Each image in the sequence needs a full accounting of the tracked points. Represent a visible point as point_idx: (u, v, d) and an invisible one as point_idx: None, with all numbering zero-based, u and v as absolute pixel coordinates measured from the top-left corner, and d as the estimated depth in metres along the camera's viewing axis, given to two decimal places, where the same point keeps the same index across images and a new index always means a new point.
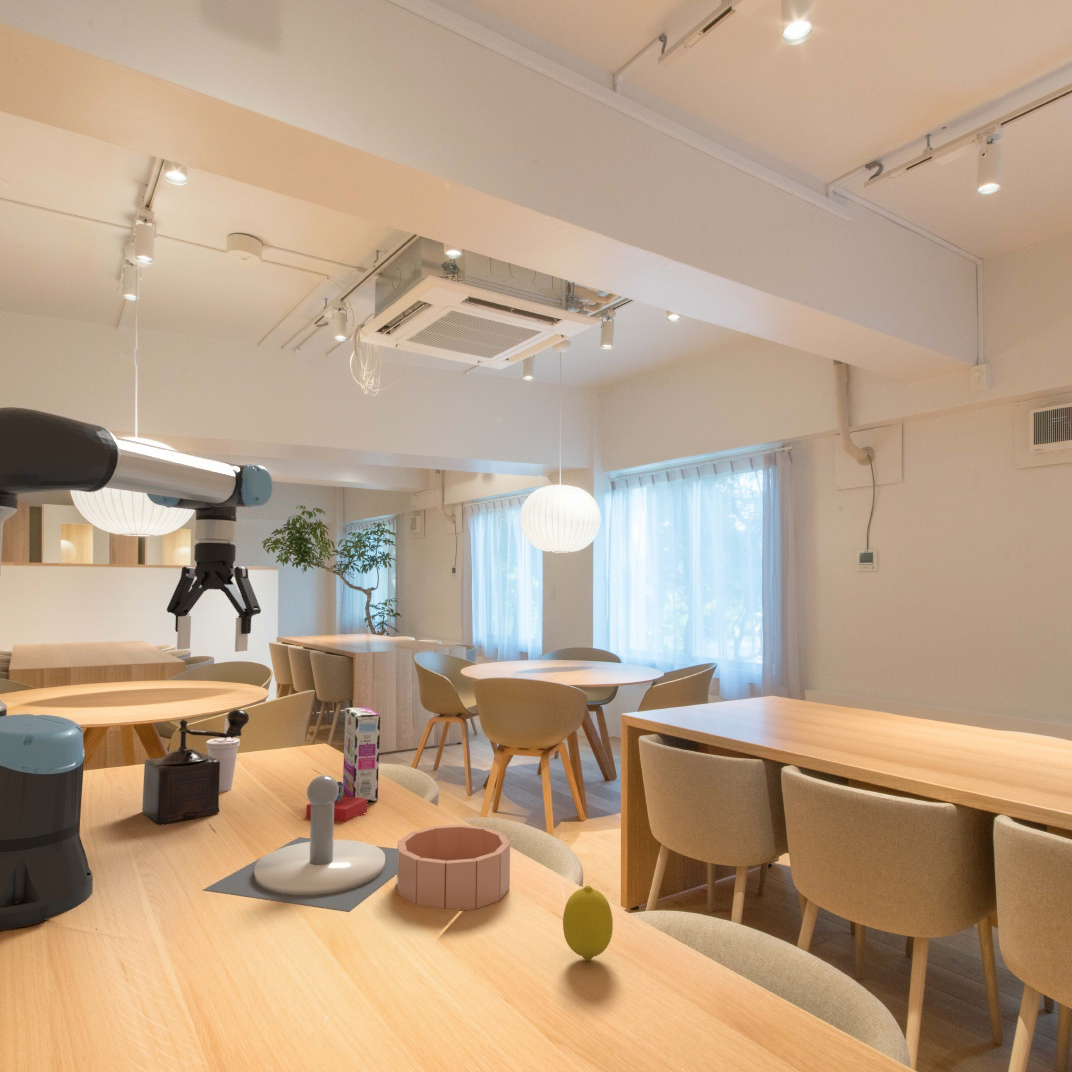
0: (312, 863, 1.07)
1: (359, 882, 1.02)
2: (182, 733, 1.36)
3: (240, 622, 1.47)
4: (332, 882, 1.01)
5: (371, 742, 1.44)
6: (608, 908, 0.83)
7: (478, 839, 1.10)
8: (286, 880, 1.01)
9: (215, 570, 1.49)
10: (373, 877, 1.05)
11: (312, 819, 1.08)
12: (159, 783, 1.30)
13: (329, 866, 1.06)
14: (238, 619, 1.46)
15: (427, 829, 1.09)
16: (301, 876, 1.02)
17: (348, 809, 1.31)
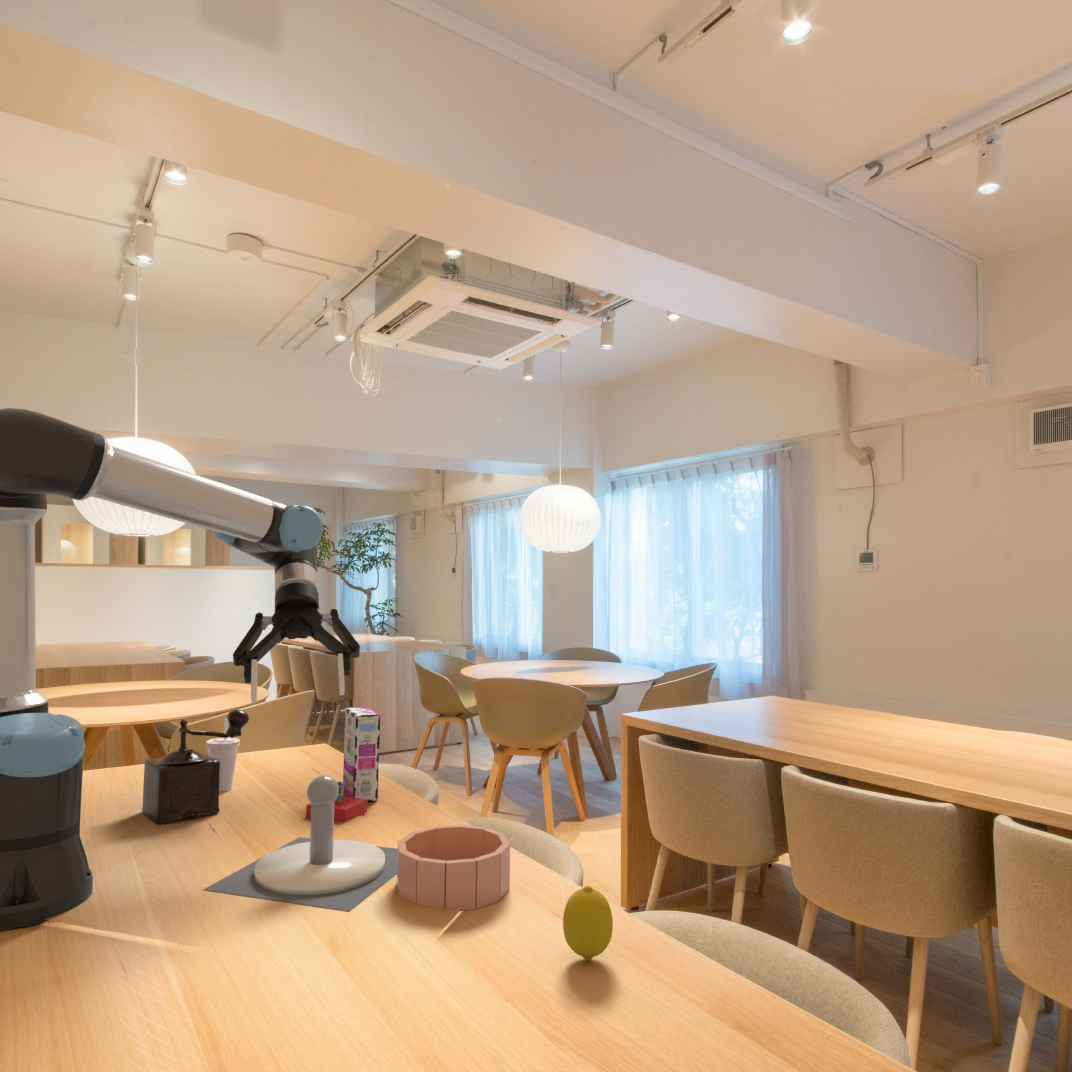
0: (312, 863, 1.07)
1: (359, 882, 1.02)
2: (182, 733, 1.36)
3: (342, 659, 1.27)
4: (332, 882, 1.01)
5: (371, 742, 1.44)
6: (608, 908, 0.83)
7: (478, 839, 1.10)
8: (286, 880, 1.01)
9: None
10: (373, 877, 1.05)
11: (312, 819, 1.08)
12: (159, 783, 1.30)
13: (329, 866, 1.06)
14: (341, 654, 1.27)
15: (427, 829, 1.09)
16: (301, 876, 1.02)
17: (348, 809, 1.31)
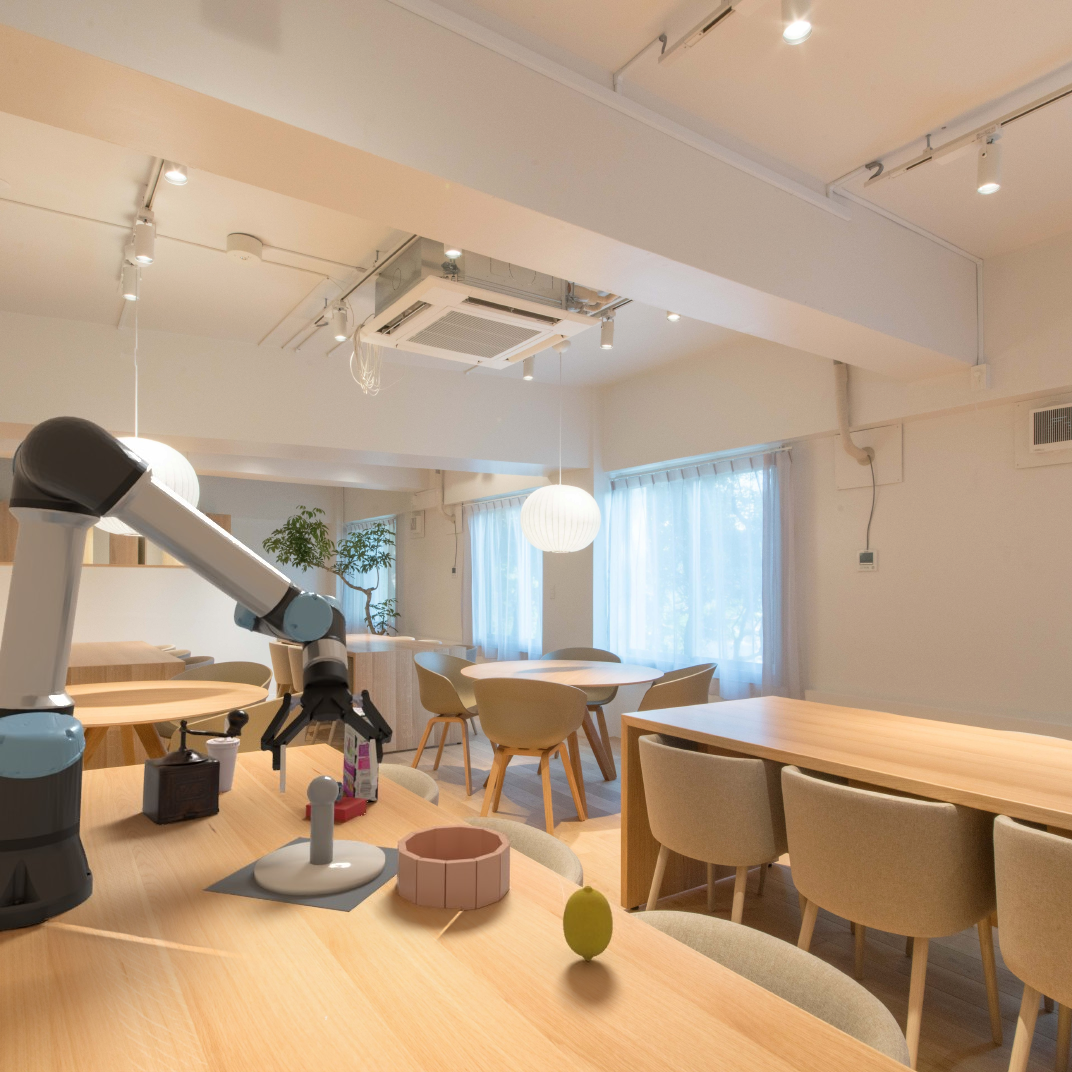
0: (312, 863, 1.07)
1: (359, 882, 1.02)
2: (182, 733, 1.36)
3: None
4: (332, 882, 1.01)
5: None
6: (608, 908, 0.83)
7: (478, 839, 1.10)
8: (286, 880, 1.01)
9: None
10: (373, 877, 1.05)
11: (312, 819, 1.08)
12: (159, 783, 1.30)
13: (329, 866, 1.06)
14: (373, 741, 1.21)
15: (427, 829, 1.09)
16: (301, 876, 1.02)
17: (347, 809, 1.31)
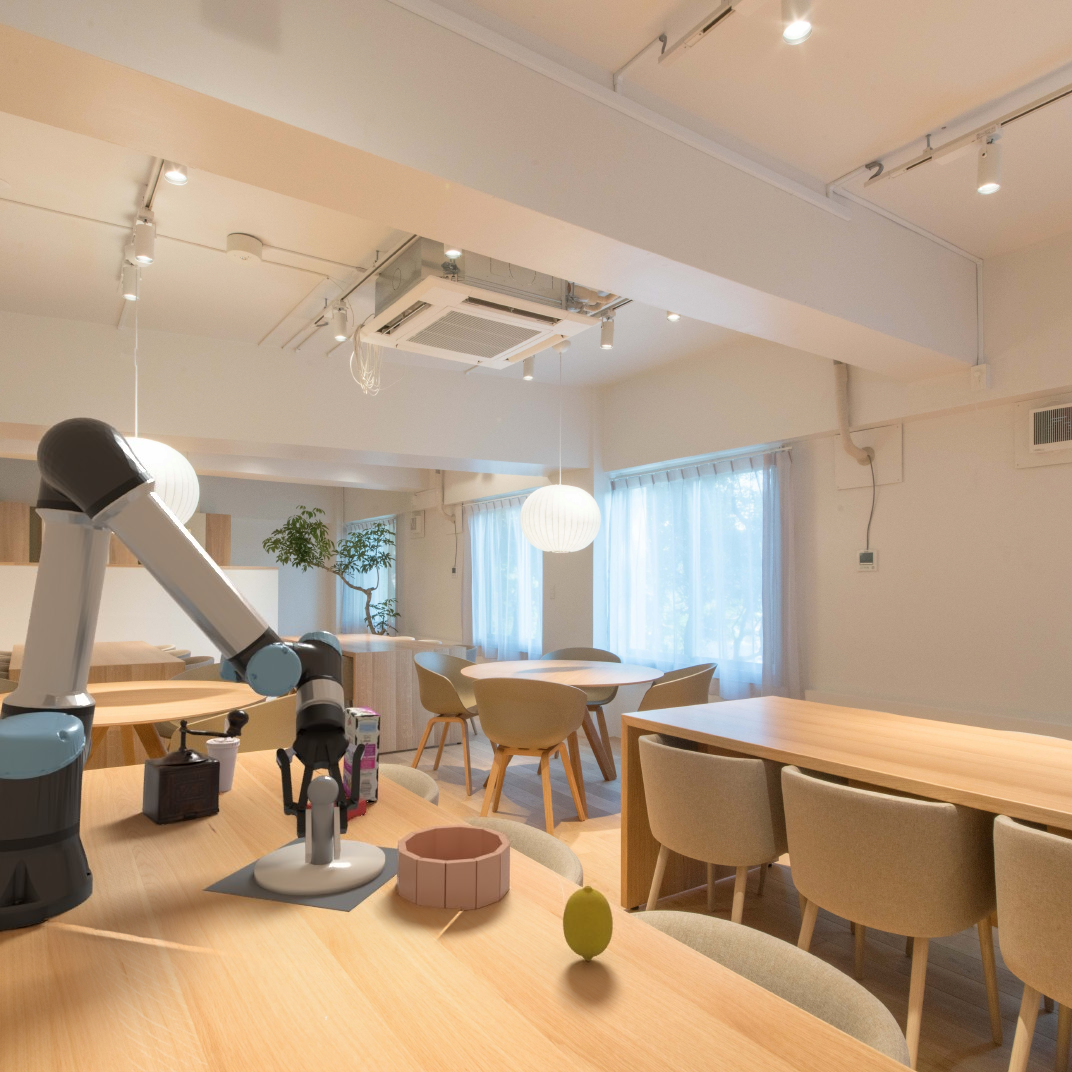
0: (312, 863, 1.07)
1: (359, 882, 1.02)
2: (182, 733, 1.36)
3: (339, 814, 1.09)
4: (332, 882, 1.01)
5: (371, 742, 1.44)
6: (608, 908, 0.83)
7: (478, 839, 1.10)
8: (286, 880, 1.01)
9: (331, 735, 1.18)
10: (373, 877, 1.05)
11: (312, 819, 1.08)
12: (159, 783, 1.30)
13: (329, 866, 1.06)
14: (337, 809, 1.09)
15: (427, 829, 1.09)
16: (301, 876, 1.02)
17: None
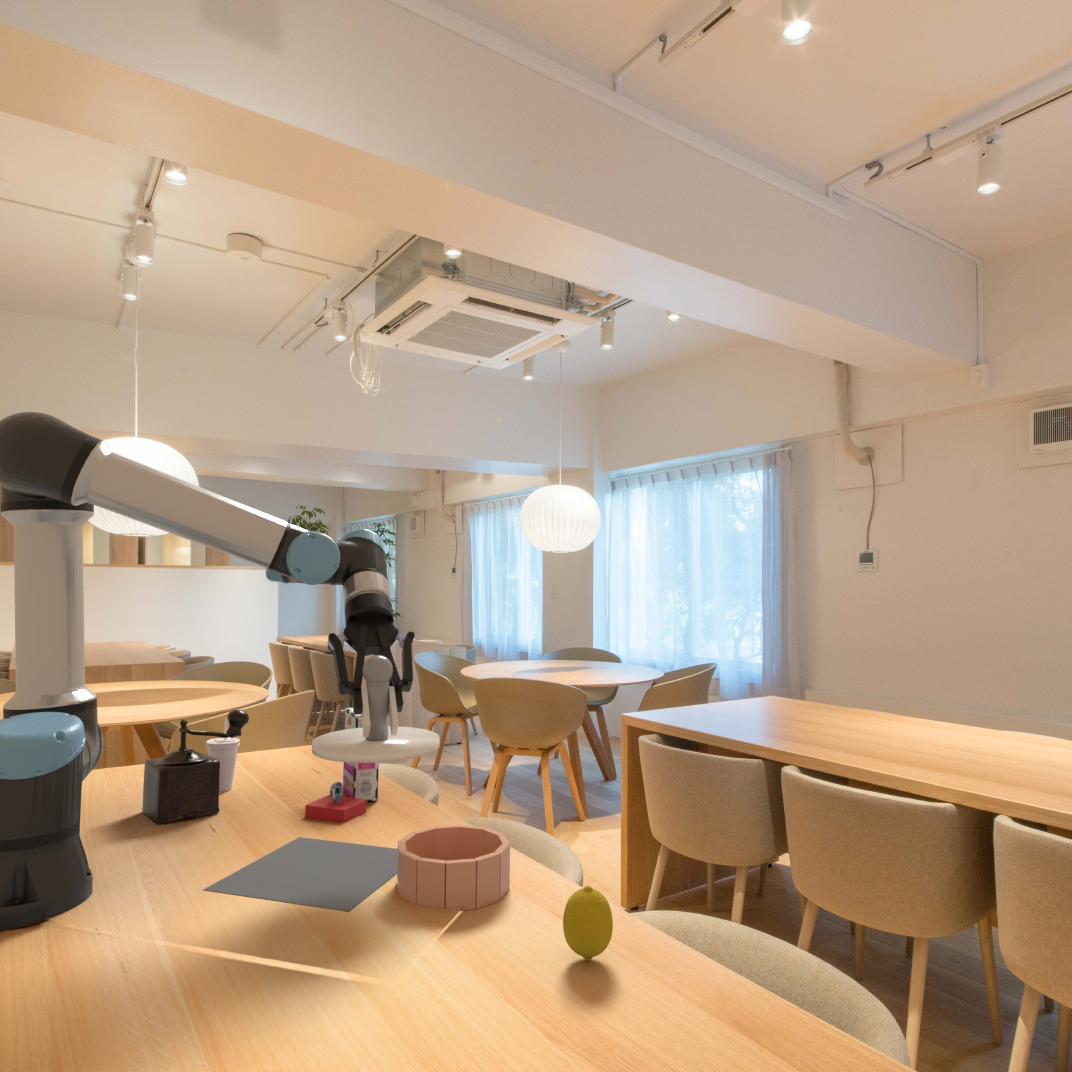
0: (368, 740, 1.08)
1: (418, 753, 1.03)
2: (182, 733, 1.36)
3: None
4: (392, 751, 1.02)
5: None
6: (608, 908, 0.83)
7: (478, 839, 1.10)
8: (346, 750, 1.02)
9: (380, 623, 1.19)
10: (431, 750, 1.06)
11: (368, 697, 1.08)
12: (159, 783, 1.30)
13: (385, 742, 1.07)
14: (392, 688, 1.10)
15: (427, 829, 1.09)
16: (361, 748, 1.03)
17: (347, 810, 1.31)
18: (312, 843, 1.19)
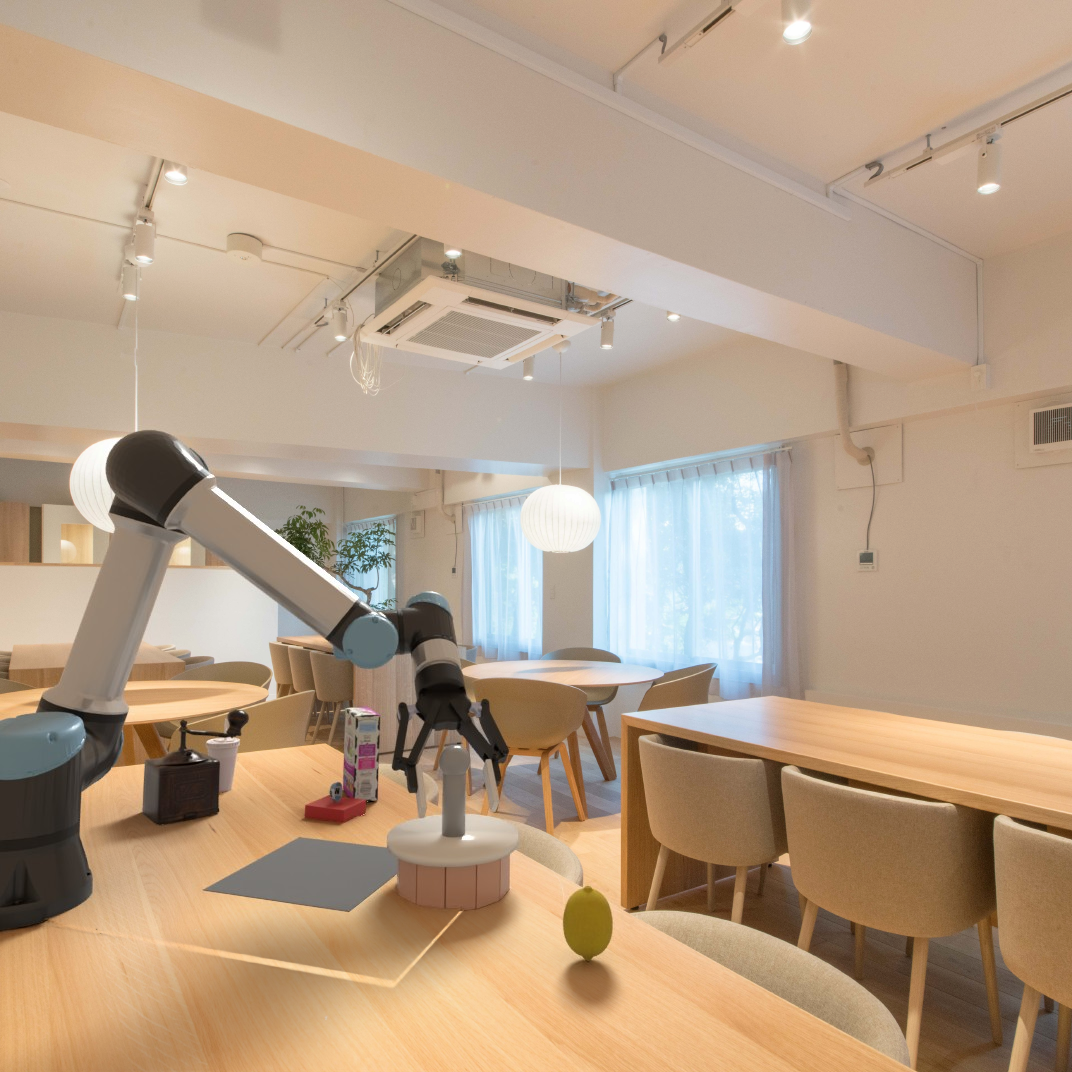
0: (446, 835, 1.03)
1: (501, 854, 0.98)
2: (182, 733, 1.36)
3: None
4: (475, 853, 0.96)
5: (371, 742, 1.44)
6: (608, 908, 0.83)
7: None
8: (426, 851, 0.97)
9: (451, 698, 1.13)
10: (512, 849, 1.00)
11: (445, 790, 1.03)
12: (159, 783, 1.30)
13: (464, 839, 1.02)
14: (490, 761, 1.06)
15: None
16: (441, 848, 0.98)
17: (346, 810, 1.30)
18: (312, 843, 1.19)
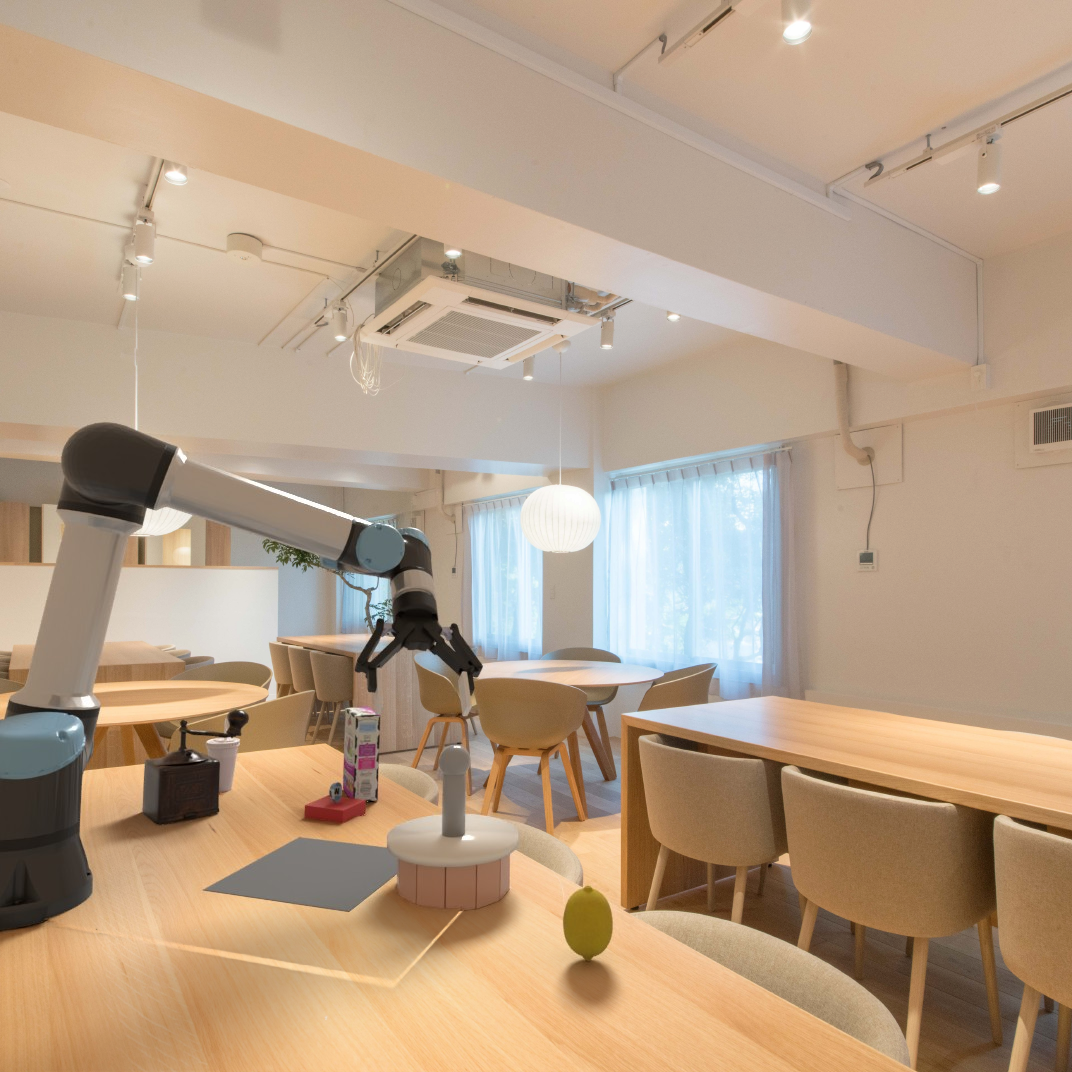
0: (446, 835, 1.03)
1: (501, 854, 0.98)
2: (182, 733, 1.36)
3: None
4: (475, 853, 0.96)
5: (371, 742, 1.44)
6: (608, 908, 0.83)
7: None
8: (426, 851, 0.97)
9: None
10: (512, 849, 1.00)
11: (445, 790, 1.03)
12: (159, 783, 1.30)
13: (464, 839, 1.02)
14: (465, 673, 1.21)
15: None
16: (441, 848, 0.98)
17: (346, 810, 1.30)
18: (312, 843, 1.19)
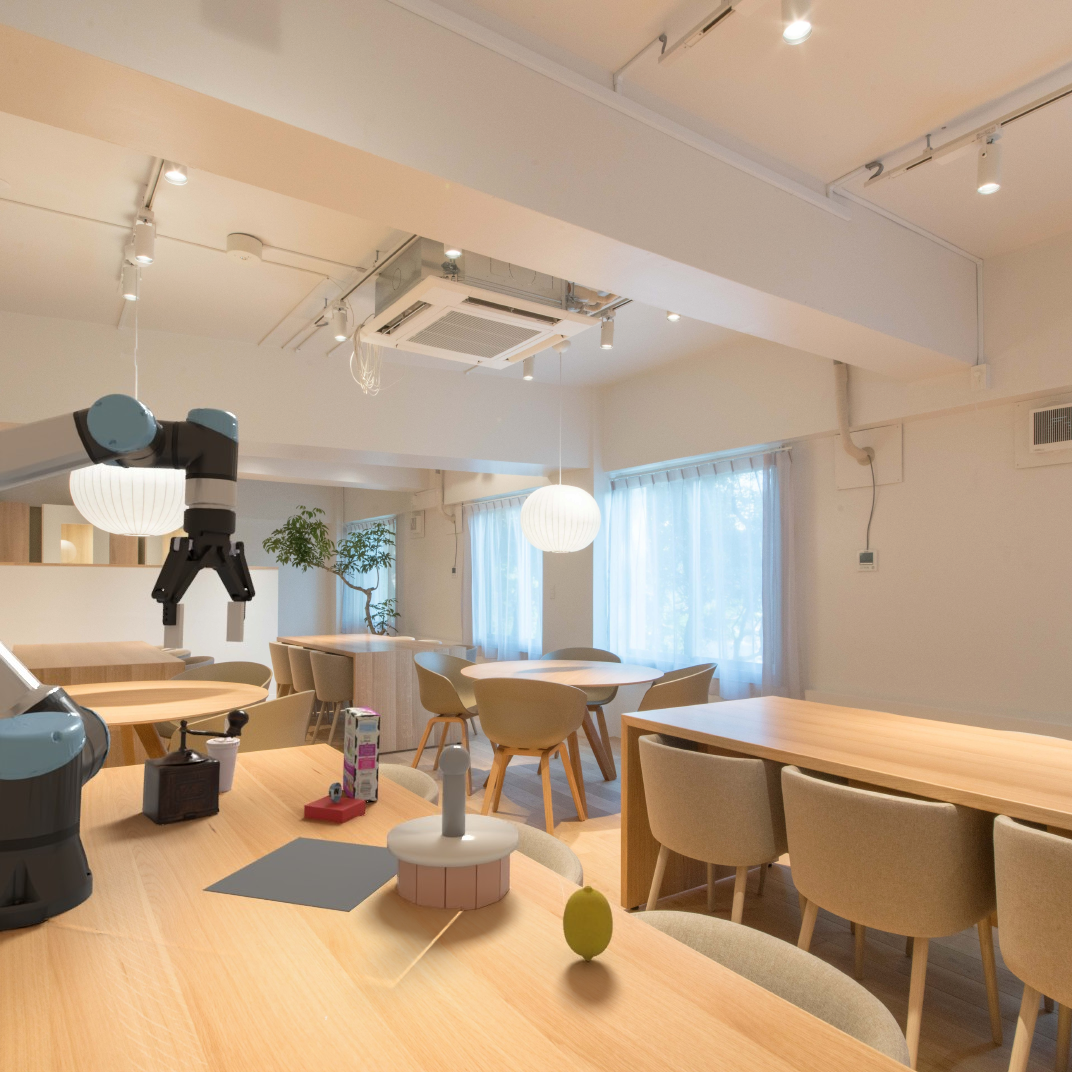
0: (446, 835, 1.03)
1: (501, 854, 0.98)
2: (182, 733, 1.36)
3: None
4: (475, 853, 0.96)
5: (371, 742, 1.44)
6: (608, 908, 0.83)
7: None
8: (426, 851, 0.97)
9: (220, 544, 1.19)
10: (512, 849, 1.00)
11: (445, 790, 1.03)
12: (159, 783, 1.30)
13: (464, 839, 1.02)
14: (243, 603, 1.24)
15: None
16: (441, 848, 0.98)
17: (345, 811, 1.30)
18: (312, 843, 1.19)
